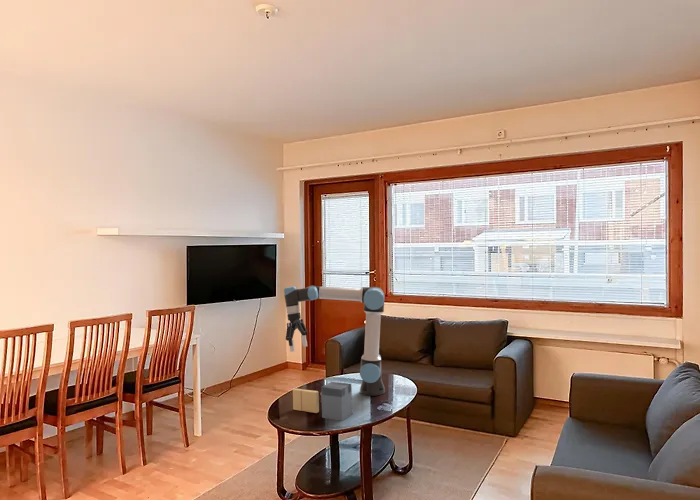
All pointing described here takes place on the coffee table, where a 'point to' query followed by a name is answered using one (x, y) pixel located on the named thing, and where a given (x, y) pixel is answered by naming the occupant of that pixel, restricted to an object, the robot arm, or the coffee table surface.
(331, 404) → the dispenser
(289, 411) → the coffee table surface
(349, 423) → the coffee table surface
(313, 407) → the taped cardboard box
